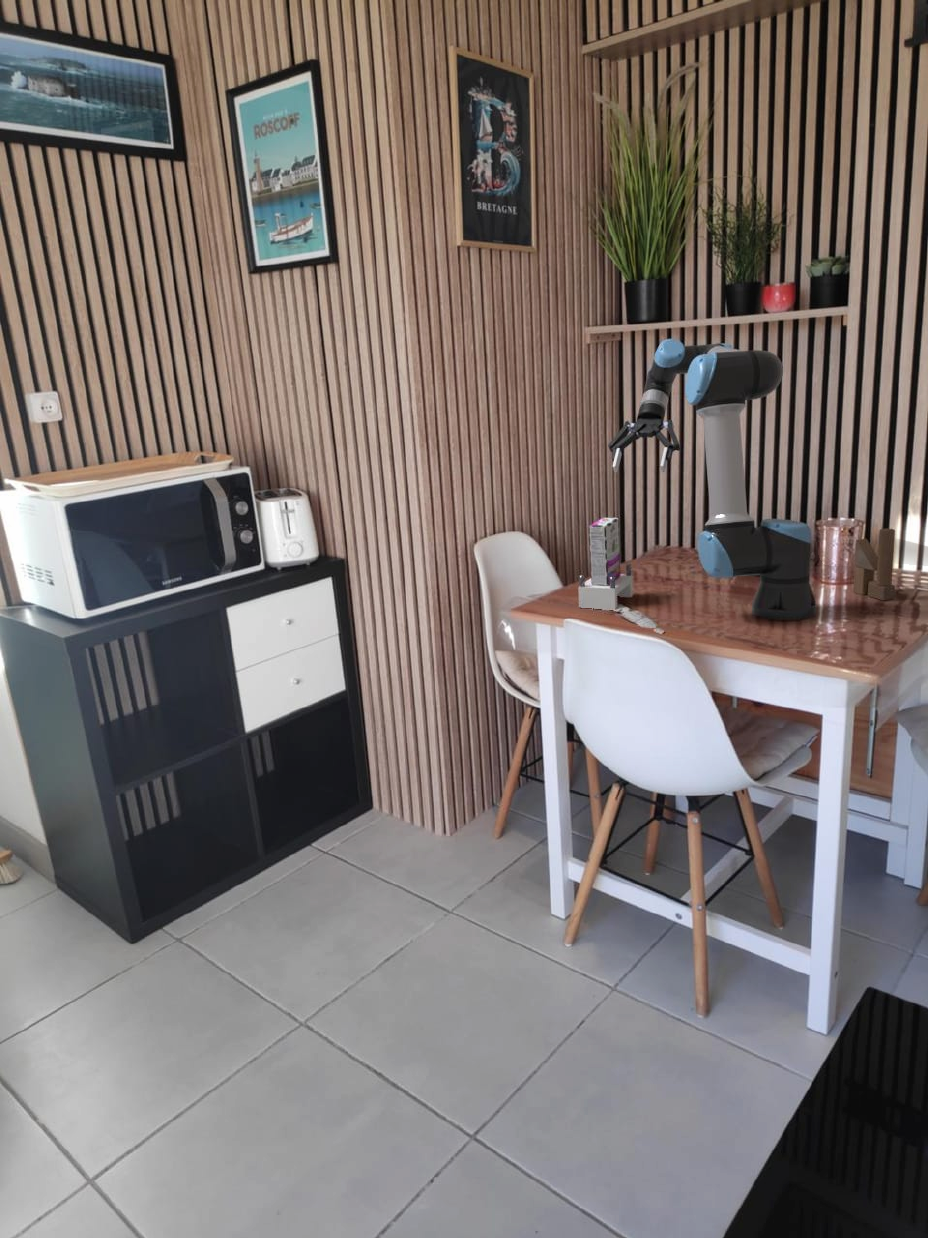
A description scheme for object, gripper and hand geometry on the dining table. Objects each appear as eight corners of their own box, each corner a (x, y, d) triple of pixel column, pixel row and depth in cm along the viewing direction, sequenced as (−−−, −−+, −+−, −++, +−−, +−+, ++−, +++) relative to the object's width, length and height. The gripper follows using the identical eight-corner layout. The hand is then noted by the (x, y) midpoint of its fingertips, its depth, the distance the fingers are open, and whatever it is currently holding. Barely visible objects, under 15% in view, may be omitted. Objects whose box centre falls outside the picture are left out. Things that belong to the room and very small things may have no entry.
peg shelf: (632, 595, 252) (632, 564, 250) (615, 610, 239) (614, 577, 236) (598, 593, 257) (597, 562, 254) (579, 608, 243) (577, 575, 241)
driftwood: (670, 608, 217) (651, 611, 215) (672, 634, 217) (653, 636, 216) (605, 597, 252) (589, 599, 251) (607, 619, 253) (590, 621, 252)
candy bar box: (603, 575, 252) (601, 517, 247) (620, 576, 249) (619, 517, 245) (589, 585, 242) (588, 524, 238) (607, 586, 240) (606, 525, 235)
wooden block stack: (863, 590, 241) (867, 523, 236) (894, 599, 231) (899, 529, 227) (852, 592, 240) (855, 525, 235) (883, 601, 230) (887, 531, 225)
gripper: (698, 416, 258) (685, 477, 249) (613, 419, 269) (598, 477, 260) (694, 399, 252) (680, 460, 243) (607, 402, 263) (592, 461, 254)
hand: (638, 469), depth 252 cm, fingers open, 13 cm apart
